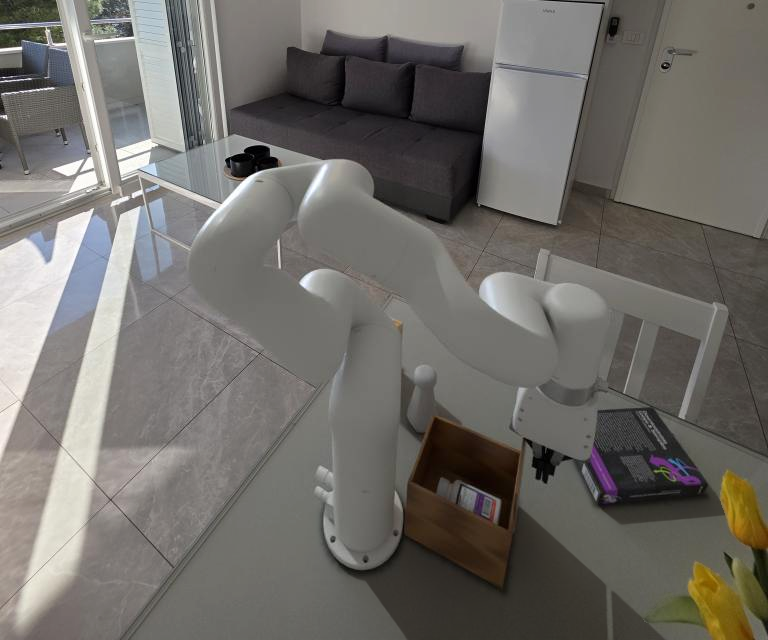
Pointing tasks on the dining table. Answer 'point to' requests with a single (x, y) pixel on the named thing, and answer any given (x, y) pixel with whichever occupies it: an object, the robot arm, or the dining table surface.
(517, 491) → the flap
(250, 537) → the dining table surface
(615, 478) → the box
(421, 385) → the salt shaker
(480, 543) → the wooden storage box
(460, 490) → the pill bottle
